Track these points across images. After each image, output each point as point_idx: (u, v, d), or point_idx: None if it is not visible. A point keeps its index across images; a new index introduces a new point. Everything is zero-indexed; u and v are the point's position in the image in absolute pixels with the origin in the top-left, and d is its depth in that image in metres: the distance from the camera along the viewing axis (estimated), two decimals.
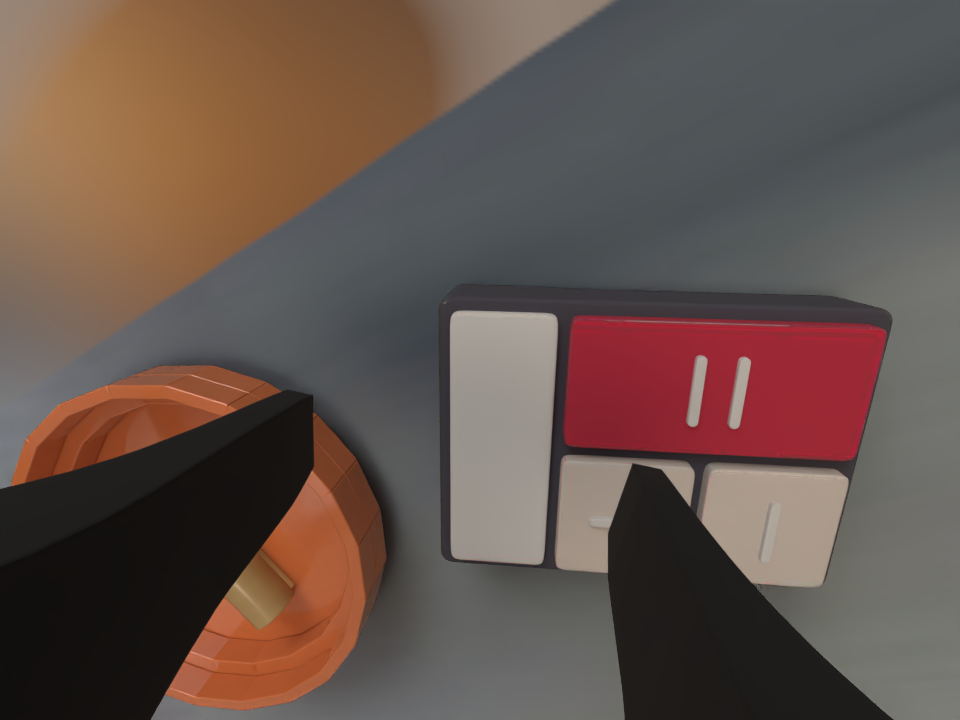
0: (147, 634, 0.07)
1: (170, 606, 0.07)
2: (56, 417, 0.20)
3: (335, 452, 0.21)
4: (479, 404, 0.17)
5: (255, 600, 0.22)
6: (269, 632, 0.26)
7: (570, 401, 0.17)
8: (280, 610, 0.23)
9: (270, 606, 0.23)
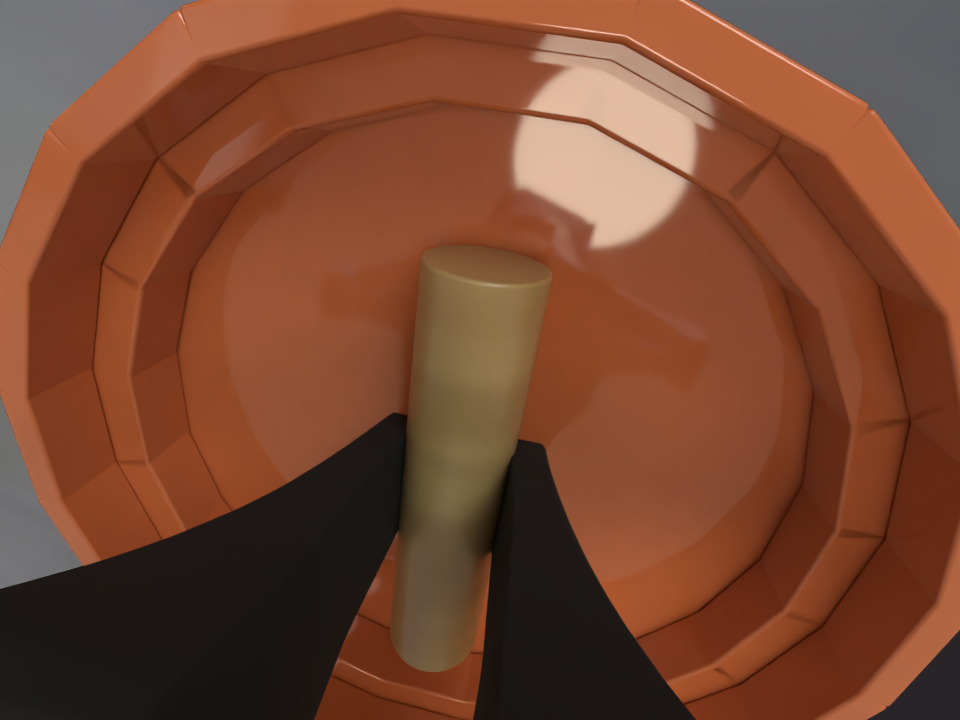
0: (305, 676, 0.07)
1: (320, 645, 0.07)
2: (587, 3, 0.05)
3: None
4: None
5: (454, 635, 0.11)
6: None
7: None
8: (464, 658, 0.12)
9: (460, 649, 0.11)
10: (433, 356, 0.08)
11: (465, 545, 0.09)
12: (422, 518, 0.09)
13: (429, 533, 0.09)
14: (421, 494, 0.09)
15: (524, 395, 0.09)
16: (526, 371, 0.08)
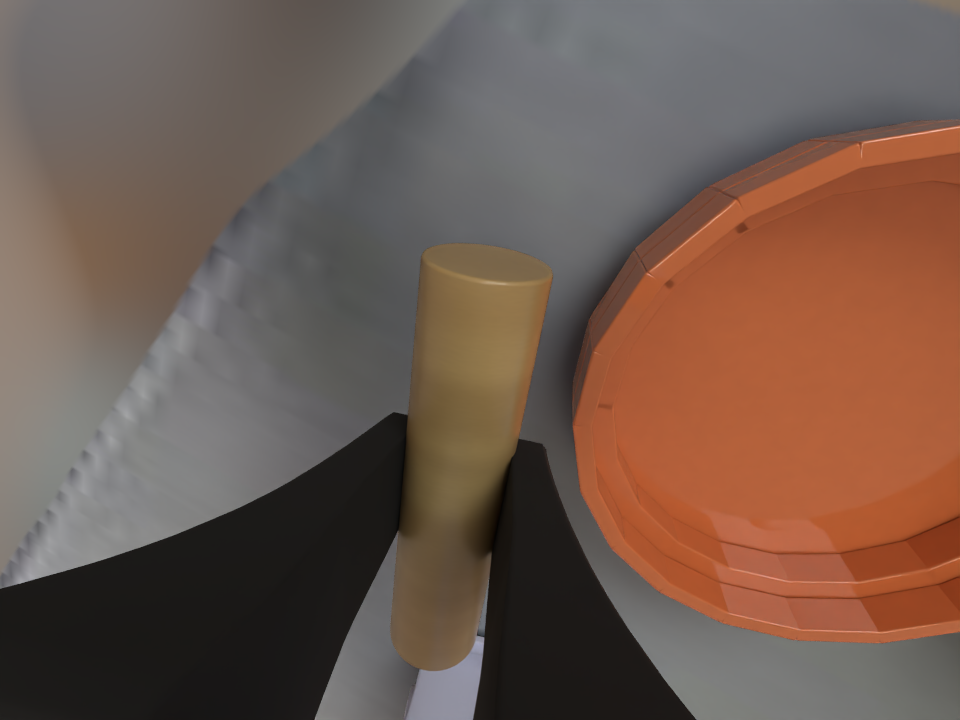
0: (305, 676, 0.07)
1: (320, 645, 0.07)
2: None
3: None
4: None
5: (454, 634, 0.11)
6: (686, 513, 0.19)
7: None
8: (464, 657, 0.12)
9: (460, 648, 0.11)
10: (433, 354, 0.08)
11: (465, 544, 0.09)
12: (422, 517, 0.09)
13: (429, 532, 0.09)
14: (421, 493, 0.09)
15: (525, 393, 0.09)
16: (527, 369, 0.08)
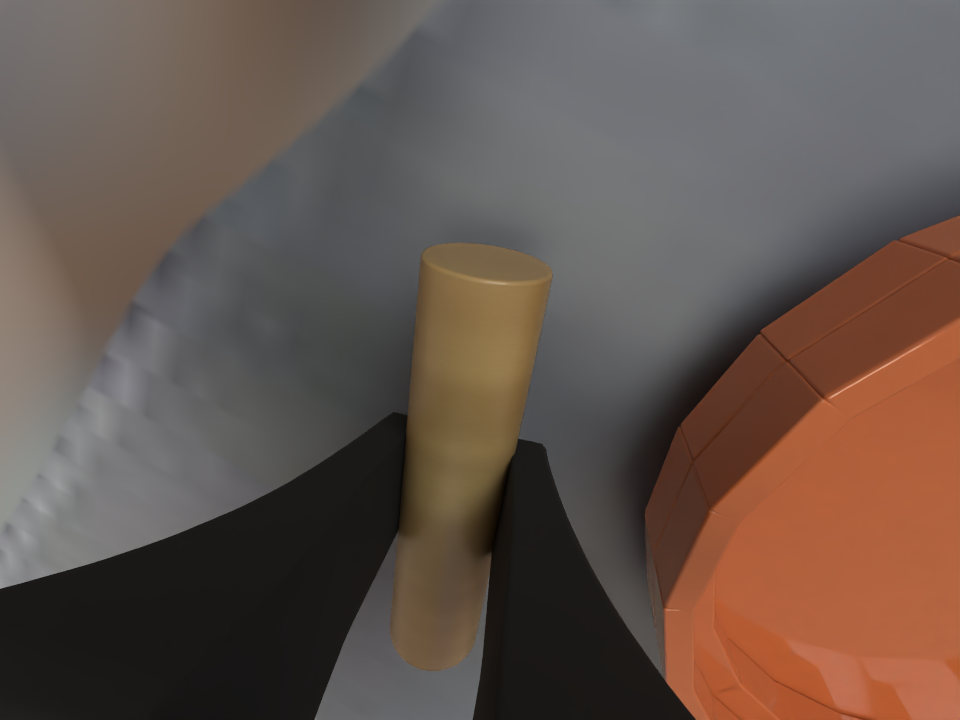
0: (305, 676, 0.07)
1: (320, 645, 0.07)
2: None
3: None
4: None
5: (454, 634, 0.11)
6: (796, 676, 0.14)
7: None
8: (464, 657, 0.12)
9: (460, 648, 0.11)
10: (433, 354, 0.08)
11: (465, 544, 0.09)
12: (422, 516, 0.09)
13: (429, 532, 0.09)
14: (421, 493, 0.09)
15: (524, 393, 0.09)
16: (526, 369, 0.08)
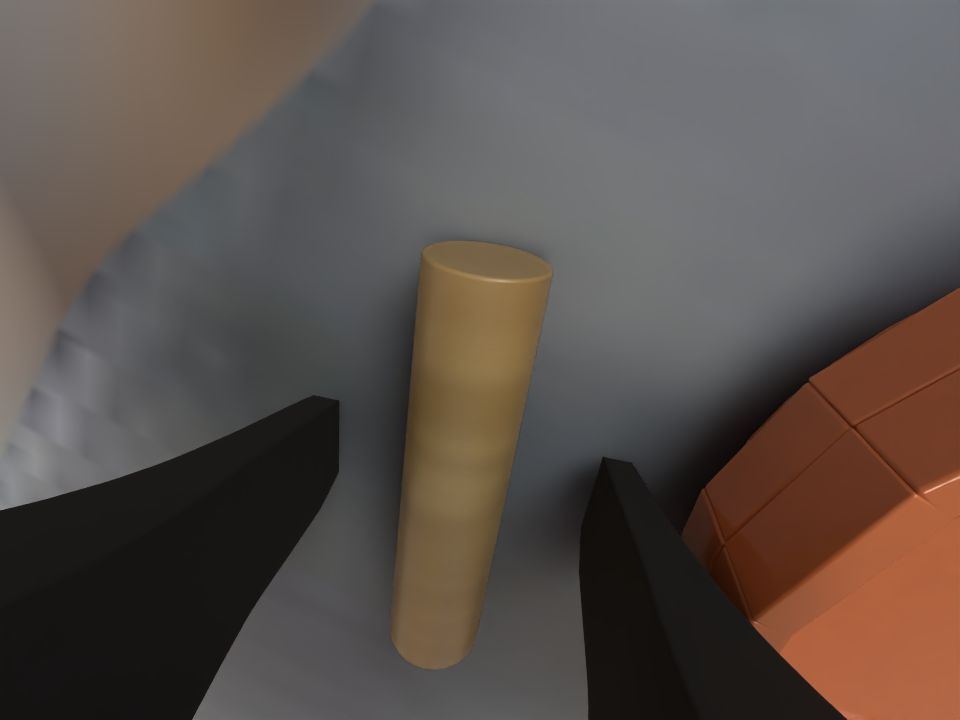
0: (186, 644, 0.07)
1: (207, 616, 0.07)
2: None
3: None
4: None
5: (455, 633, 0.11)
6: None
7: None
8: (464, 655, 0.12)
9: (461, 646, 0.11)
10: (433, 352, 0.08)
11: (465, 542, 0.09)
12: (422, 515, 0.09)
13: (430, 530, 0.09)
14: (421, 491, 0.09)
15: (525, 391, 0.09)
16: (527, 367, 0.08)
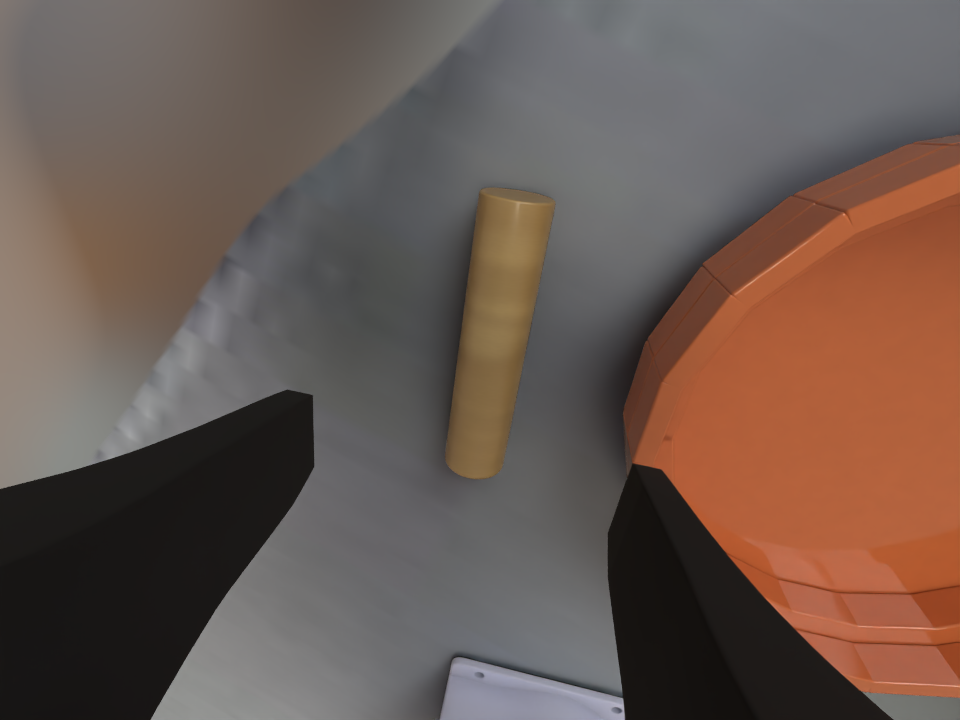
0: (147, 634, 0.07)
1: (170, 606, 0.07)
2: None
3: None
4: None
5: (491, 450, 0.17)
6: (742, 548, 0.18)
7: None
8: (496, 473, 0.17)
9: (494, 464, 0.17)
10: (487, 248, 0.14)
11: (501, 377, 0.15)
12: (475, 359, 0.15)
13: (479, 369, 0.15)
14: (475, 342, 0.15)
15: (538, 277, 0.14)
16: (540, 260, 0.14)
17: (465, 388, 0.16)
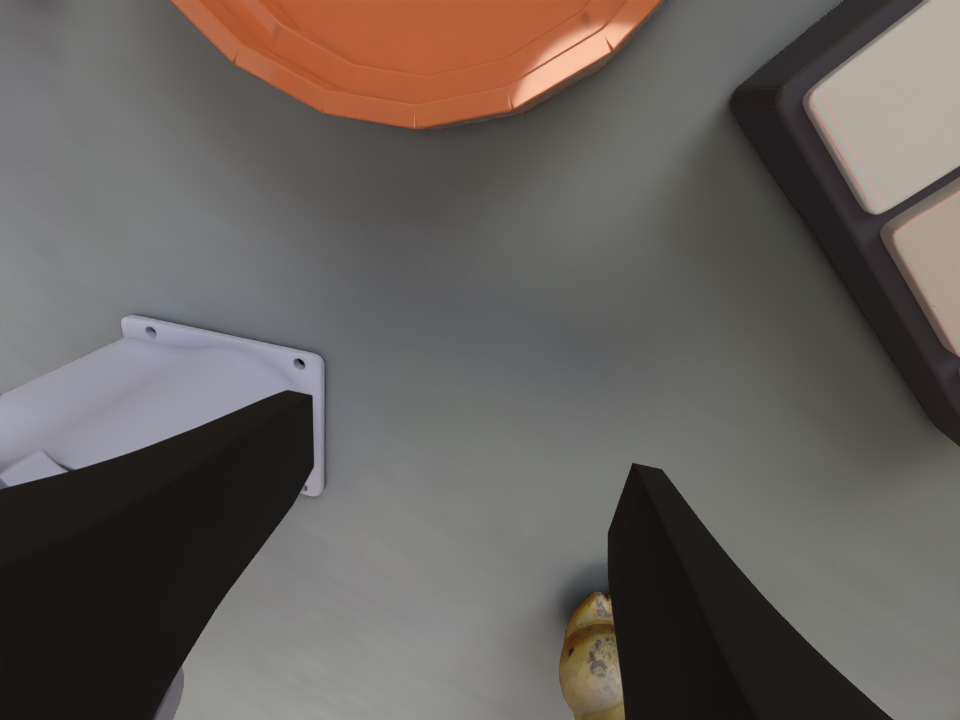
0: (147, 634, 0.07)
1: (170, 606, 0.07)
2: None
3: None
4: None
5: None
6: (319, 21, 0.15)
7: None
8: None
9: None
10: None
11: None
12: None
13: None
14: None
15: None
16: None
17: None
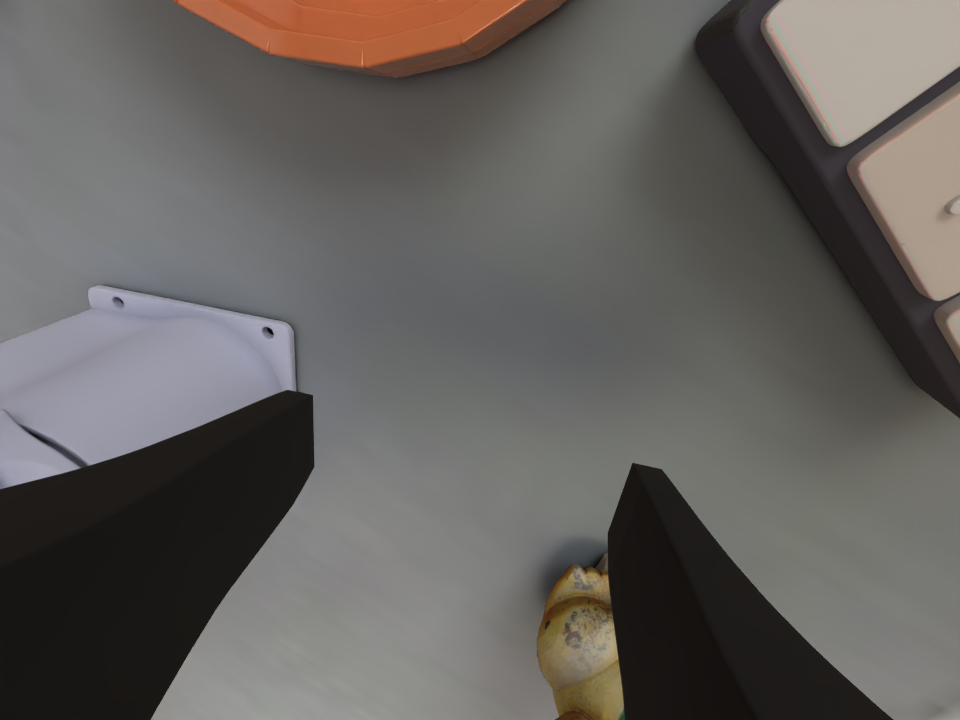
0: (147, 634, 0.07)
1: (170, 606, 0.07)
2: None
3: None
4: None
5: None
6: None
7: None
8: None
9: None
10: None
11: None
12: None
13: None
14: None
15: None
16: None
17: None
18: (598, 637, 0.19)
